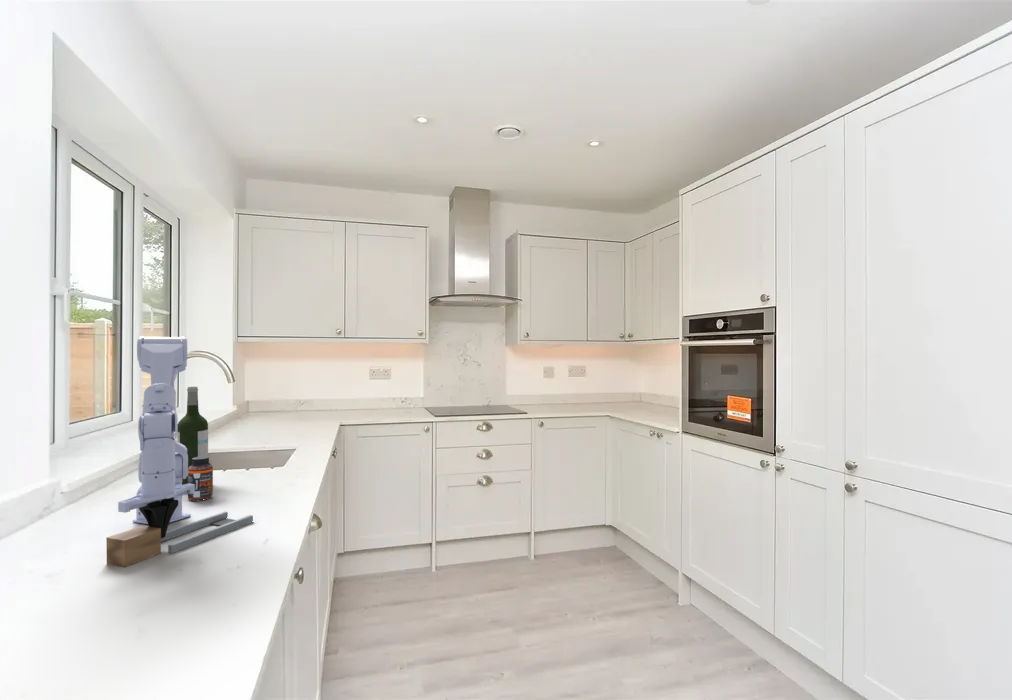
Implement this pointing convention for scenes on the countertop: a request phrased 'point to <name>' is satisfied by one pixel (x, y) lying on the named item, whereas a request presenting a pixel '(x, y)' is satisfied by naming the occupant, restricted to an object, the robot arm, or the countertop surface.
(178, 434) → the wine bottle
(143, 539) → the brown rectangular block
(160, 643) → the countertop surface
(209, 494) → the supplement bottle
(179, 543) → the channel
